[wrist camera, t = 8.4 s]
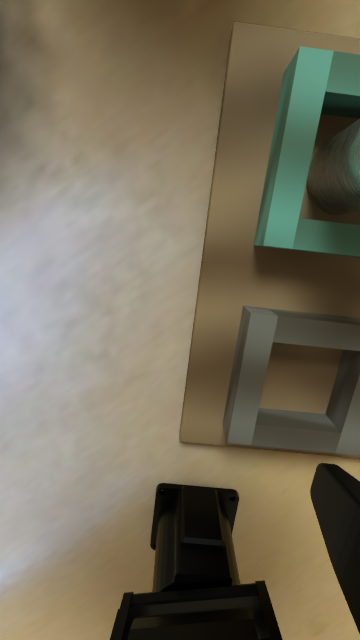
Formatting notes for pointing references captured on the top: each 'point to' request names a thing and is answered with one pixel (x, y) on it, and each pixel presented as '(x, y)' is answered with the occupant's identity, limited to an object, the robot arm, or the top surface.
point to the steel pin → (337, 173)
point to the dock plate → (278, 256)
